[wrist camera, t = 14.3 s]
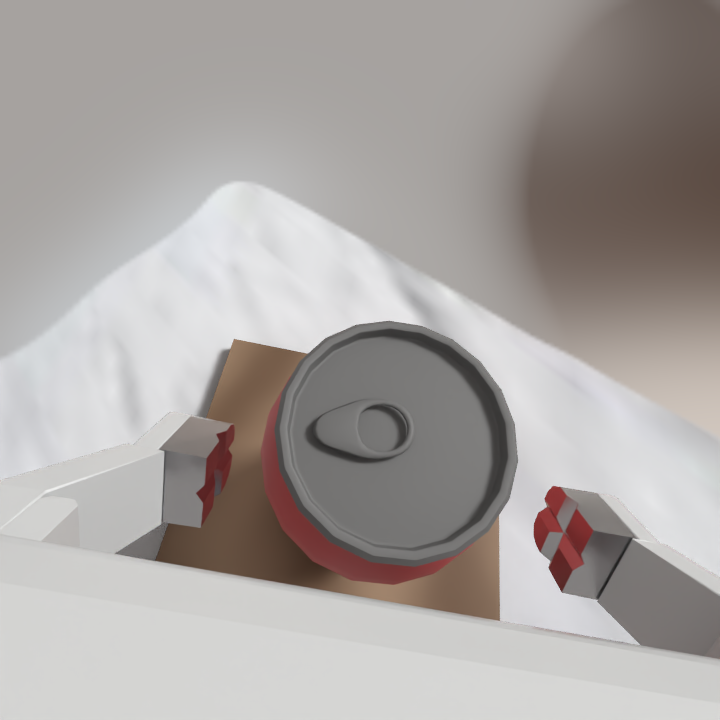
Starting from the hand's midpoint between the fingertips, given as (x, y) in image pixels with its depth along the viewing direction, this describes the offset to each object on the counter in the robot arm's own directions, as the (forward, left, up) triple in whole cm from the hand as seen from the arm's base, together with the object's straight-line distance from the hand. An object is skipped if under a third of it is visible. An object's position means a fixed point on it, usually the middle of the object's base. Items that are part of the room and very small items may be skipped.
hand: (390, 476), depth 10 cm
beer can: (0, -1, -11) cm, 11 cm away
